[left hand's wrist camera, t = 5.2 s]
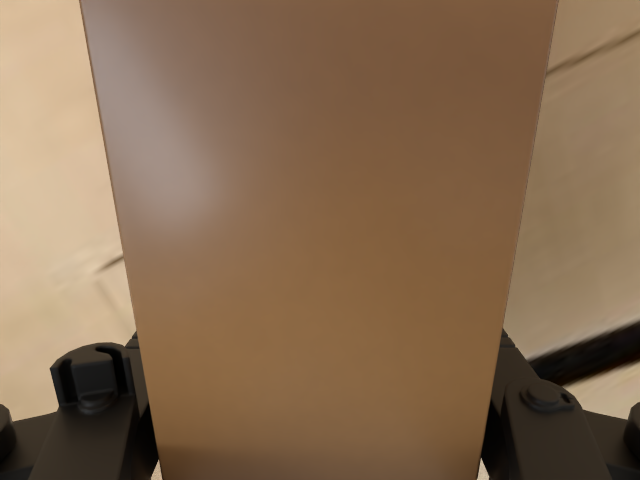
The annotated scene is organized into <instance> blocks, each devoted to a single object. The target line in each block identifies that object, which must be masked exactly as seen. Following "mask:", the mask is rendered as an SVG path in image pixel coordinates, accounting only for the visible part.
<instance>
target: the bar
mask: <svg viewBox="0 0 640 480" xmlns="http://www.w3.org/2000/svg"><path fill="white" fill-rule="evenodd" d="M79 3H80V8H81V14H82V20H83V25H84V31H85V37H86V43H87V48H88V54H89V60H90V66H91V71H92V77H93V83H94V89H95V94H96V100H97V106H98V112H99V117H100V123H101V129H102V135H103V140H104V146H105V152H106V158H107V163H108V169H109V175H110V181H111V186H112V192H113V198H114V203H115V209H116V215H117V221H118V226H119V232H120V238H121V244H122V249H123V255H124V261H125V267H126V272H127V278H128V284H129V290H130V295H131V301H132V307H133V313H134V318H135V324H136V330H137V336H138V341H139V347H140V353H141V359H142V364H143V370H144V376H145V381H146V387H147V393H148V399H149V404H150V410H151V416H152V422H153V427H154V433H155V439H156V445H157V450H158V456H159V462H160V468H161V473H162V479H163V480H477V474H478V469H479V463H480V457H481V451H482V445H483V439H484V433H485V428H486V422H487V416H488V410H489V404H490V398H491V392H492V387H493V381H494V375H495V369H496V363H497V357H498V351H499V346H500V340H501V334H502V328H503V322H504V316H505V310H506V305H507V299H508V293H509V287H510V281H511V275H512V270H513V264H514V258H515V252H516V246H517V240H518V234H519V229H520V223H521V217H522V211H523V205H524V199H525V193H526V188H527V182H528V176H529V170H530V164H531V158H532V152H533V147H534V141H535V135H536V129H537V123H538V117H539V112H540V106H541V100H542V94H543V88H544V82H545V76H546V71H547V65H548V59H549V53H550V47H551V41H552V35H553V30H554V24H555V18H556V12H557V6H558V0H79Z"/></svg>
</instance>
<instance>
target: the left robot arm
mask: <svg viewBox="0 0 640 480" xmlns="http://www.w3.org/2000/svg"><path fill="white" fill-rule="evenodd" d="M50 371H51V375H52V379H53V383H54V387H55V391H56V395H57V399H58V403H59V408H58V410H57V412H54V413H50V414H46V415H42V416H37V417H33V418H28V419H23V420H19V421H14V422H12V418H11V415H10V412H9V409H7V408H6V407H5V406H4V405H2V404H0V480H151V476H152V474H153V472H154V469H155V467H156V464H157V462H158V460H159V456H158V450H157V445H156V439H155V433H154V427H153V422H152V416H151V410H150V404H149V399H148V393H147V387H146V381H145V376H144V370H143V364H142V359H141V353H140V347H139V341H138V336H137V331H136V332H135V333H134V335H133V336H132V339H130V340H129V342H128V343H127V344H126V346H125V347H124V346H123V345H120V344H116V343H112V342H110V343H95V344H91V345H86V346H82V347H80V348H77V349H75V350H72V351H70V352H68V353H67V354H65V355H63V356H62V357H60V358H59V359H57V360H56V362H55V363H54V364H53V365H52V366H51V368H50ZM481 458H482V461H483V463H484V465H485V468H486V470H487V472H488V475H489V480H640V402H638V403H637V404H635V405H634V406H633V407H632V408H631V410H630V414H629V417H628V420H626V419H621V418H616V417H612V416H607V415H602V414H598V413H593V412H590V411H586V410H583V409H582V407H581V405H580V404H579V402H578V401H577V399H576V398H575V397H574V396H573V395H572V394H571V393H569V392H568V391H567V390H565V389H564V388H563V387H561V386H558V385H556V384H554V383H552V382H550V381H546V380H542V379H540V378H539V377H538V376H537V374H536V373H535V372H534V370H533V369H532V367H531V366H530V365H529V363H528V362H527V361H526V359H525V358H524V357H523V355H522V354H521V352H520V351H519V350H518V348H515V344H514V343H513V342H512V340H511V339H510V338H508V335H507V333H506V332H505V331H504V329H503V328H502V334H501V340H500V346H499V351H498V357H497V363H496V369H495V375H494V381H493V387H492V392H491V398H490V404H489V410H488V416H487V422H486V428H485V433H484V439H483V445H482V451H481V457H480V460H481ZM479 466H480V463H479ZM478 472H479V469H478ZM161 474H162V473H161ZM477 478H478V474H477Z"/></svg>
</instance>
